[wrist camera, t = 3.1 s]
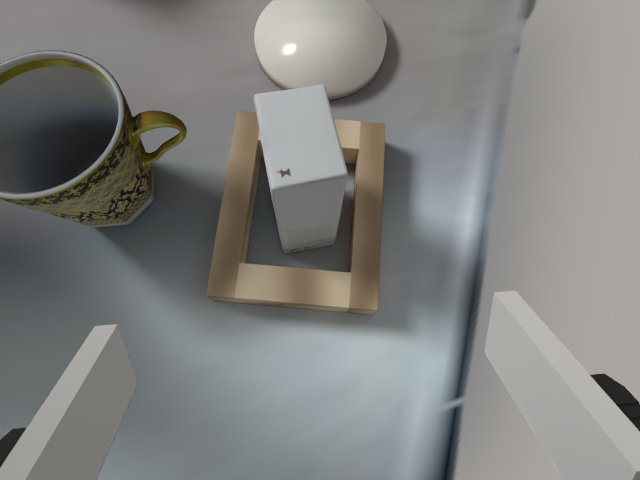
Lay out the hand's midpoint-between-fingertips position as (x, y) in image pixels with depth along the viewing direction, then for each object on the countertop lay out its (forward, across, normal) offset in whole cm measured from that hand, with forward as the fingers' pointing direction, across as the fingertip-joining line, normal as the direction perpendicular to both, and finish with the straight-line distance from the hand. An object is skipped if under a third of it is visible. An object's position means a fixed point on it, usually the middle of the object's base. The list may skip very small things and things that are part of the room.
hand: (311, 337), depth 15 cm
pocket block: (+19, 0, -3) cm, 19 cm away
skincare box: (+19, 0, -4) cm, 19 cm away
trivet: (+31, +3, +9) cm, 32 cm away
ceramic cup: (+21, -14, -1) cm, 25 cm away
